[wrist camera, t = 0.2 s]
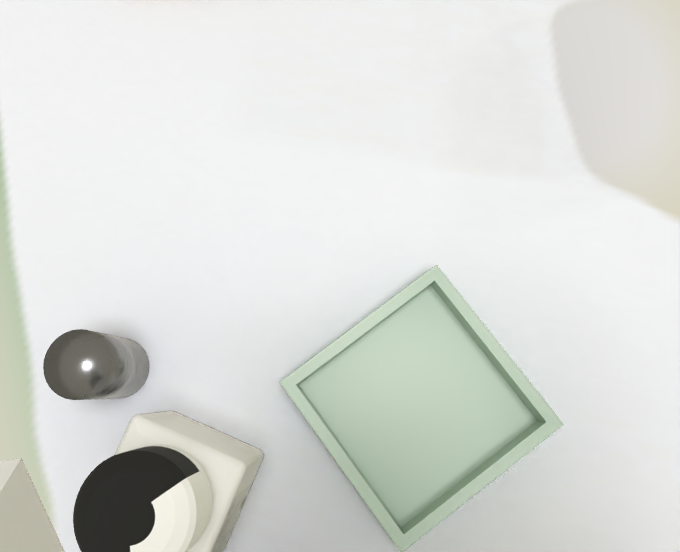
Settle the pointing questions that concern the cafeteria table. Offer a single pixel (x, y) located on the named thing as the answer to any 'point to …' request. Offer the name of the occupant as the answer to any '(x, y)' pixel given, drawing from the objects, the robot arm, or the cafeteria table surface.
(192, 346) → the cafeteria table surface
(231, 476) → the container
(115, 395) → the post
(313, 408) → the tray
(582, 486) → the cafeteria table surface
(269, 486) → the cafeteria table surface
